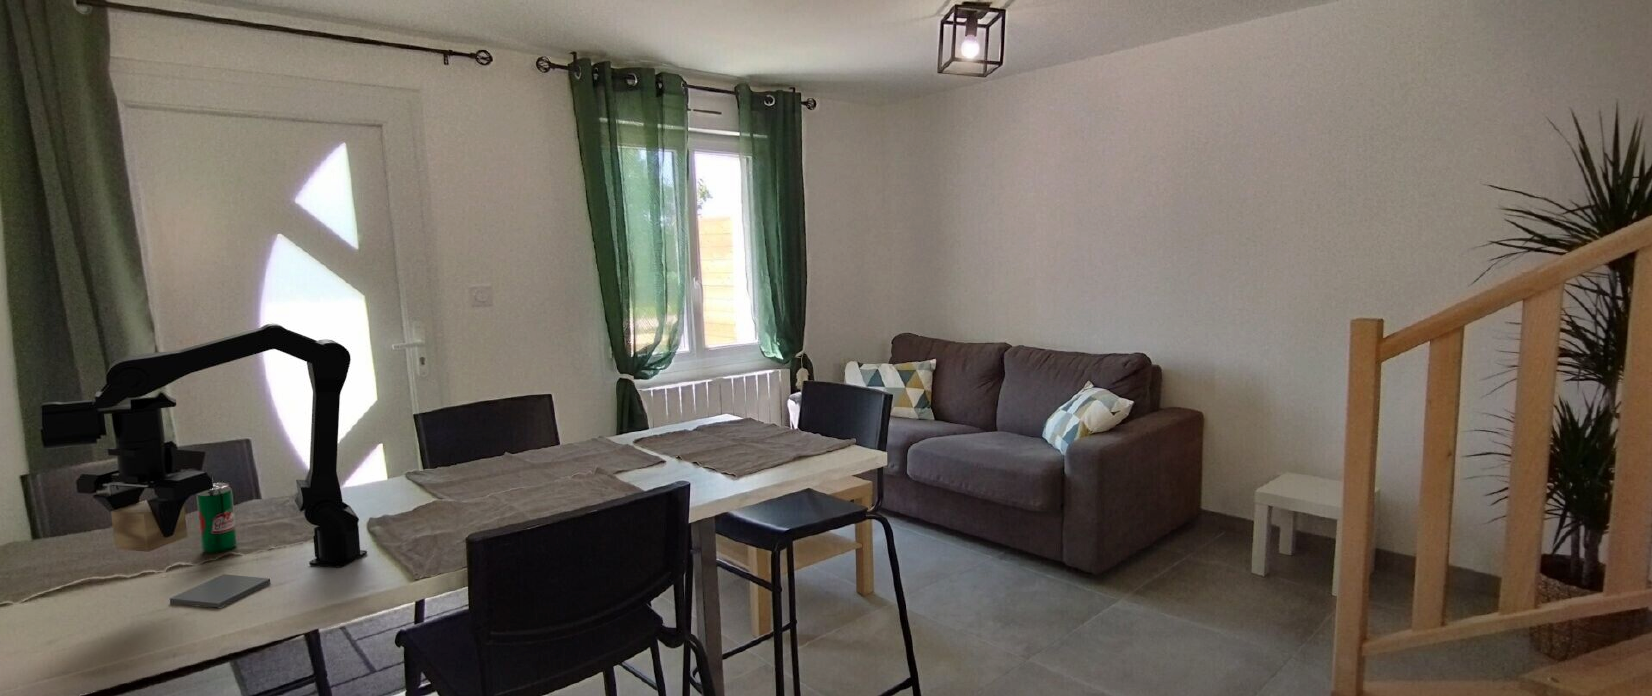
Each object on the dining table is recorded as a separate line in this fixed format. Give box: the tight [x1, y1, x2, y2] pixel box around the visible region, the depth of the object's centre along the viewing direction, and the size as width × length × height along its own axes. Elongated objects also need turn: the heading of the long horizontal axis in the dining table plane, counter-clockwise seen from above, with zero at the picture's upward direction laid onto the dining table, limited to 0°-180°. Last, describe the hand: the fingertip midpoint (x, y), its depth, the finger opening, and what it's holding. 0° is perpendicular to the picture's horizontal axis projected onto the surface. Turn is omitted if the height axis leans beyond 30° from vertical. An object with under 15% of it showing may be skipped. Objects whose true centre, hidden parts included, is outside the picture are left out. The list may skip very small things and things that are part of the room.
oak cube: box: [110, 499, 189, 552], centre depth 118 cm, size 6×6×6 cm
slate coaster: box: [169, 573, 271, 609], centre depth 122 cm, size 9×9×1 cm
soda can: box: [196, 482, 238, 554], centre depth 139 cm, size 5×5×12 cm
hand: (151, 534), depth 118 cm, fingers closed on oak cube, 6 cm apart
